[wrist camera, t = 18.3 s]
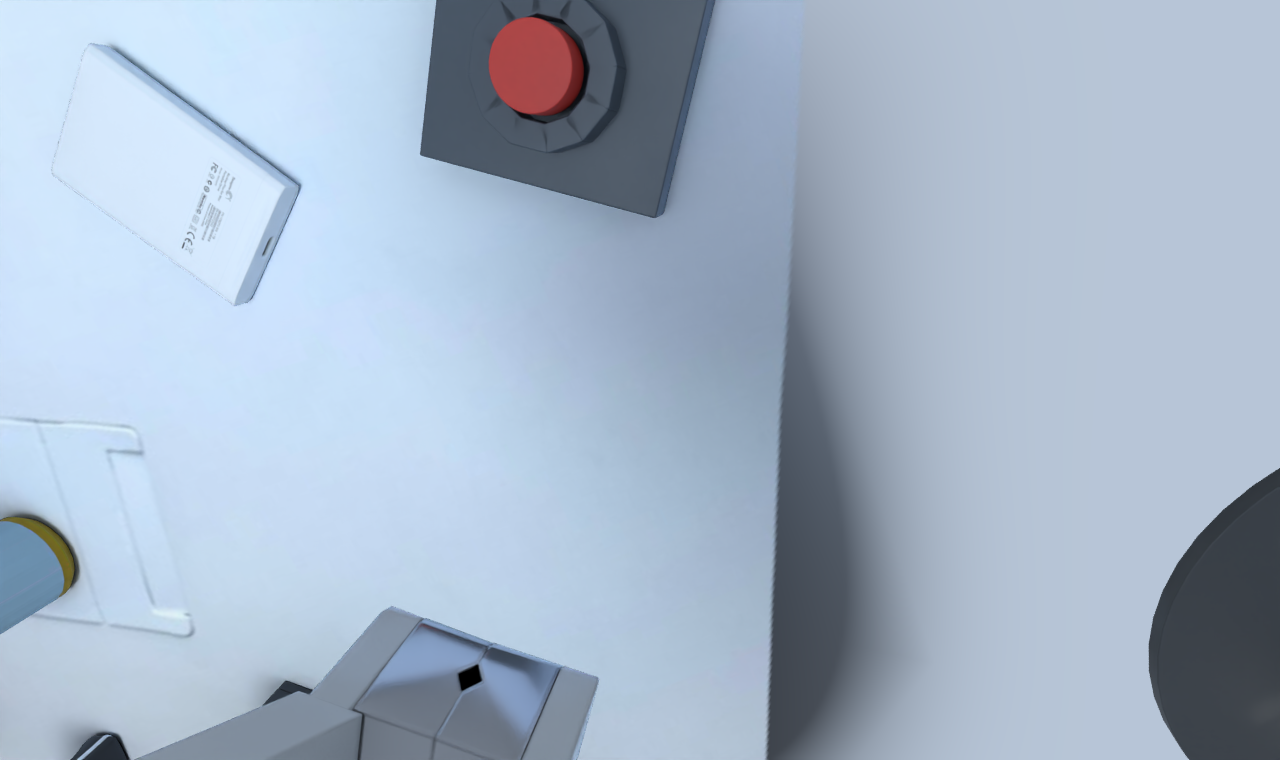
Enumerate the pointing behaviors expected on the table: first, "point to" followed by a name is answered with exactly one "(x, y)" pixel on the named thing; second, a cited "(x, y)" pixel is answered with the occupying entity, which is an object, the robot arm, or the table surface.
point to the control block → (599, 116)
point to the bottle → (30, 569)
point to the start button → (536, 67)
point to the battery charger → (100, 749)
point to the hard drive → (171, 175)
